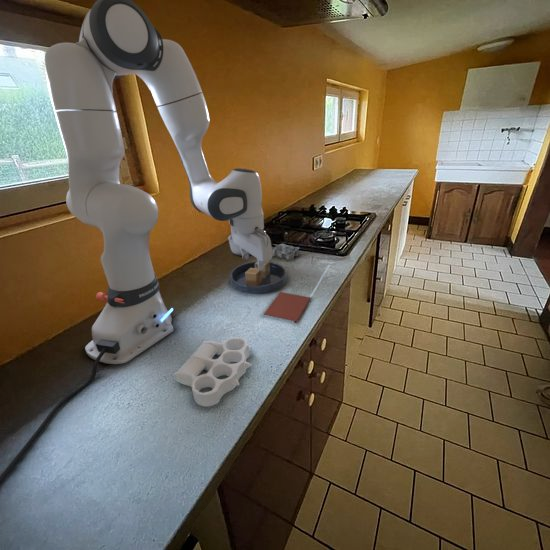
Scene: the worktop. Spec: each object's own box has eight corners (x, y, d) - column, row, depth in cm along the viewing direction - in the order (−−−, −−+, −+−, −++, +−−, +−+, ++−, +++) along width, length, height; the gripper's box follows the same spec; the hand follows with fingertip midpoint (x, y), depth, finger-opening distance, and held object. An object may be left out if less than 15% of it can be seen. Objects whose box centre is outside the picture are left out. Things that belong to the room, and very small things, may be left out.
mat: (296, 322, 83) (296, 321, 83) (263, 315, 87) (263, 313, 86) (310, 299, 94) (310, 297, 93) (280, 293, 97) (280, 291, 97)
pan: (273, 299, 94) (272, 291, 93) (220, 289, 101) (219, 281, 100) (294, 272, 110) (294, 265, 108) (246, 265, 117) (246, 258, 115)
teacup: (251, 259, 122) (250, 240, 118) (226, 258, 124) (224, 239, 120) (260, 246, 134) (259, 229, 130) (236, 245, 136) (235, 228, 132)
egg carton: (269, 256, 124) (268, 246, 122) (279, 250, 129) (279, 241, 127) (290, 261, 118) (290, 252, 116) (300, 255, 123) (300, 245, 121)
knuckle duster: (211, 340, 78) (263, 353, 73) (165, 393, 63) (226, 414, 58) (210, 330, 76) (262, 342, 71) (161, 382, 61) (224, 402, 56)
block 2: (265, 278, 106) (264, 265, 103) (255, 276, 107) (254, 263, 105) (270, 273, 109) (269, 260, 107) (260, 271, 110) (259, 259, 108)
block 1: (256, 287, 100) (255, 274, 98) (246, 285, 102) (244, 272, 99) (261, 282, 103) (261, 269, 101) (251, 280, 105) (250, 267, 102)
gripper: (276, 230, 86) (278, 272, 93) (243, 214, 102) (246, 251, 108) (257, 235, 83) (260, 278, 90) (226, 218, 99) (230, 256, 105)
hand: (252, 264), depth 99 cm, fingers open, 8 cm apart
